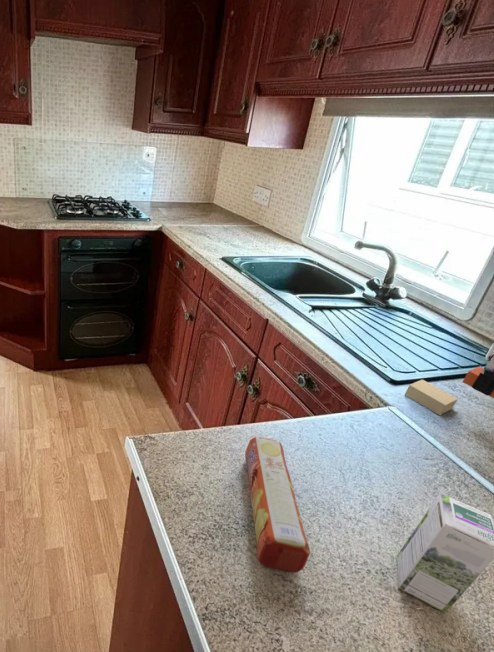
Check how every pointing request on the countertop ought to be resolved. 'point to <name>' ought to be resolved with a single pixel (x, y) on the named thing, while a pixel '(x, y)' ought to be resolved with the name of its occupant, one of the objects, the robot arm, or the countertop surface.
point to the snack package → (275, 508)
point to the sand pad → (431, 397)
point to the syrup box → (446, 552)
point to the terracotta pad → (474, 378)
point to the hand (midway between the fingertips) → (486, 387)
